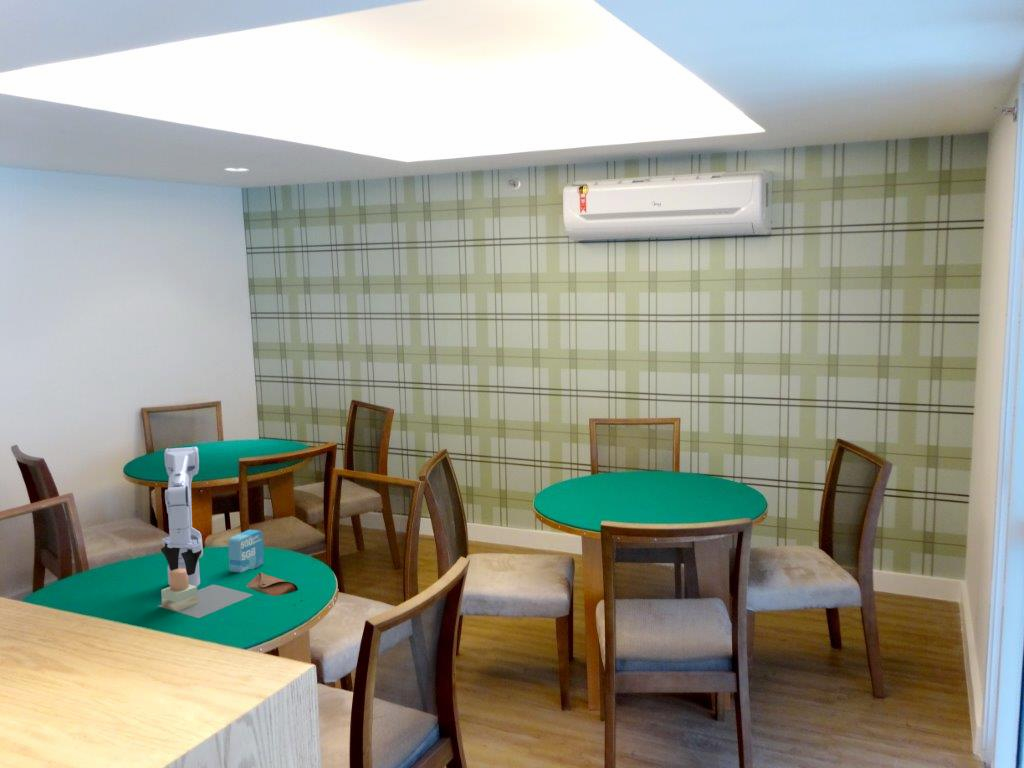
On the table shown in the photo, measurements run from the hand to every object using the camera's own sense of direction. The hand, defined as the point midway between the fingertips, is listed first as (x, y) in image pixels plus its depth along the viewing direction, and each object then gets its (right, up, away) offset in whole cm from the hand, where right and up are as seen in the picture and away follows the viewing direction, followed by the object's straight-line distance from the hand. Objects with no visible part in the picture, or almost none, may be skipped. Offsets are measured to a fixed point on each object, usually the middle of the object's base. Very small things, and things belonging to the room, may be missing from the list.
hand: (182, 572), depth 249 cm
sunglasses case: (+22, -9, +12) cm, 27 cm away
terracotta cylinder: (-1, -5, -1) cm, 5 cm away
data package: (+9, -6, +32) cm, 34 cm away
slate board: (+6, -10, +3) cm, 12 cm away
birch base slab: (-1, -10, 0) cm, 9 cm away
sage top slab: (-1, -7, -1) cm, 7 cm away
